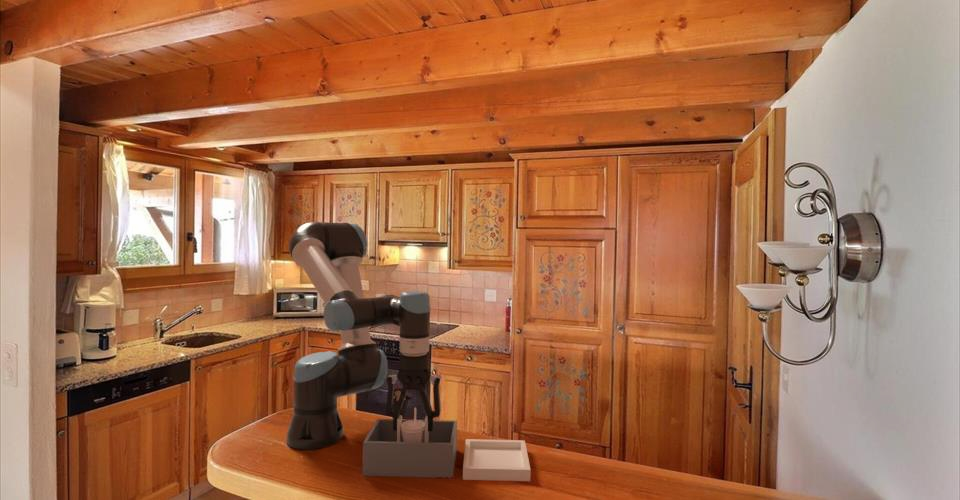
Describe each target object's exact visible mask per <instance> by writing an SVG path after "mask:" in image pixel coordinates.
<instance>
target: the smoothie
mask: <svg viewBox="0 0 960 500" xmlns="http://www.w3.org/2000/svg"><path fill="white" fill-rule="evenodd" d="M417 408H418V407H414V410H413V415H414V416H413V419H407V420H408V421H405V422H403V423H402V424H401V429H400V430H401V431H402V437H403V442H423V436H424V430H425V422H423V421H420V420H421V419H417V412H418V411H417Z"/></svg>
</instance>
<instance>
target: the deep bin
mask: <svg viewBox="0 0 960 500" xmlns="http://www.w3.org/2000/svg"><path fill="white" fill-rule="evenodd" d="M408 420H409V419H407V418H406V419H404V418H403V419H402V423H403V422H405V421H408ZM419 420H420V421H423V422H425V419H419ZM424 437H425V430H424V436H423V442H403V437H402V441H401V442H397V431H394V430H393V418H377V419H376V421H375V422H374V424H373V426H372V428H370V431H369V432H368V433H367V435H366V437H365V439H364V440H363V442H362V477H363V476H364V477H398V478H399V477H402V478H403V477H404V478H436V477H443V479H444V478H445V477H448V478H447V479H452V478H451V477H453V478H454V472H455V465H456V460H457V459H456V457H457V451H458V448H457V447H458V446H457V445H458V420H447V419H446V420H445V419H437V420H436V419H433V429H432V431H429V442H428V443H427V442H424ZM445 479H446V478H445Z"/></svg>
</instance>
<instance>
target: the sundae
mask: <svg viewBox="0 0 960 500" xmlns="http://www.w3.org/2000/svg"><path fill="white" fill-rule="evenodd" d="M395 387H396V388H395V389H394V399H393V410H395V408H396V405H397V403H398V400H399V397H400V394H401V391H402V388H403V387H400V386H398V385H397V384H395ZM410 392H411V390H408V391H407V393H406V396H405V399H404V401H403V404H402V407H401V410H400V413H399V415H402V419H404V418H405V417H406V416H407V411H408V403H409V401H410V400H412V397H411V395H410Z"/></svg>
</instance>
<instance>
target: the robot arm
mask: <svg viewBox="0 0 960 500" xmlns="http://www.w3.org/2000/svg"><path fill="white" fill-rule="evenodd" d="M367 247H368V239H367V235H366V233H365V231H364V230H363V228H362V227H360V226H359V225H358V224H355V223H348V222H325V221H323V222H322V221H311V222H305V223H304V224H301V225H300V226H299V227H297V228H296V229H295V230H294V232H293V233H292V234H291V235H290V237H289V240H288V251H289V255H290V257H291V259H292V260H293V263H295V264H296V265H297V266H301V268H302V270H303V271H304V272H305V274H306V275H307V277H308V279H309V280H310V282H311V284H312V285H313V287H314V288H315V290H316V292H317V293H318V294H319V296H320V297H321V299H322V301H323V302H324V303H323V304H325V306H324V309H323V320H324V324H325V326H326V328H327V329H328V330H330V331H333V332H334V331H339V332H340V339H341V345H340V346H339V348H338V349H337V352H335V351H324V352H323V351H319V352H313V353H310V354H307V355H305V356H303V357H300V359H298V360H297V361H296V363H295V365H294V370H293V371H294V373H293V376H292V377H293V414H292V417H291V419H290V423H289V425H288V428H287V431H286V444H287V445H288V446H289V448H290V447H291V448H294V449H297V450H315V449H323V448H326V447H329V446H331V445H334V444H336V443H339V442H340V441H341V440H342V439H343V437H344V425H343V422H342V419H341V416H340V413H339V410H338V398H340V397H345V396H350V395H353V394H359V393H363V392H369V391H371V390H375V389H378V388H380V387H381V386H382V385H383V384H384V382H385V379H386V382H387V397H386V407H385V416H387V417H391V419H393V430H394V431H397V442H401V441H402V431H401V430H400V429H401V424H402V415H399V413H400V410H401V407H402V404H403V401H404V399H405V396H406V394H408V391H418V393H419V394H420V395H419V396H420V397H421V401H422V404H423V407H424V410H425V413H426V415H425V418H424V420H425V437H424V442H427V443H428V442H429V431H432V429H433V420H434V419H435V418H439V417H440V415H441V398H440V385H439V384H440V382H441V378H442V376H440V375H434V374H432V373H431V371H430V353H429V352H430V329H431V328H430V324H431V323H430V322H431V319H430V317H431V304H430V302H431V301H430V298H431V297H430V295H429V293H428V292H426V291H420V290H419V291H418V290H414V291H413V290H412V291H403V292H402V293H401V294H400V296H397V295H394V294H382V295H380V296H378V297H365V298H364V291H363V285H362V278H361V273H360V272H361V271H360V265H361V264H362V262H363V258H364V257H365V256H366V254H367V252H368V249H367ZM389 325H392V326H393V325H394V326H398V327H399V345H398V346H399V352H400V354H399V356H398V360H399V361H398V372H397V373H396V374H389V375H388V376H387V374H388V359H387V356H386V354H385V352H384V350H383V349H379V348H378V345H377V342H376V341H374V340H372V338H371V336H370V328H372V327H380V326H389ZM397 380H398V381H399V383H400V384H401V385H402V387H401V388H402V391H401V394H400V397H399V400H398V403H397V405H396V408H395V410H393V399H394V389H395V387H396V383H397ZM429 380H430V383H431V384H432V386H433V387H432V389H433V390H432V391H433V406H434V407H433V406H432V405H431V401H430V398H429V395H428V391H427V387H426V385H427V383H428V382H429ZM432 407H433V408H434V410H433V408H432Z"/></svg>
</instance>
